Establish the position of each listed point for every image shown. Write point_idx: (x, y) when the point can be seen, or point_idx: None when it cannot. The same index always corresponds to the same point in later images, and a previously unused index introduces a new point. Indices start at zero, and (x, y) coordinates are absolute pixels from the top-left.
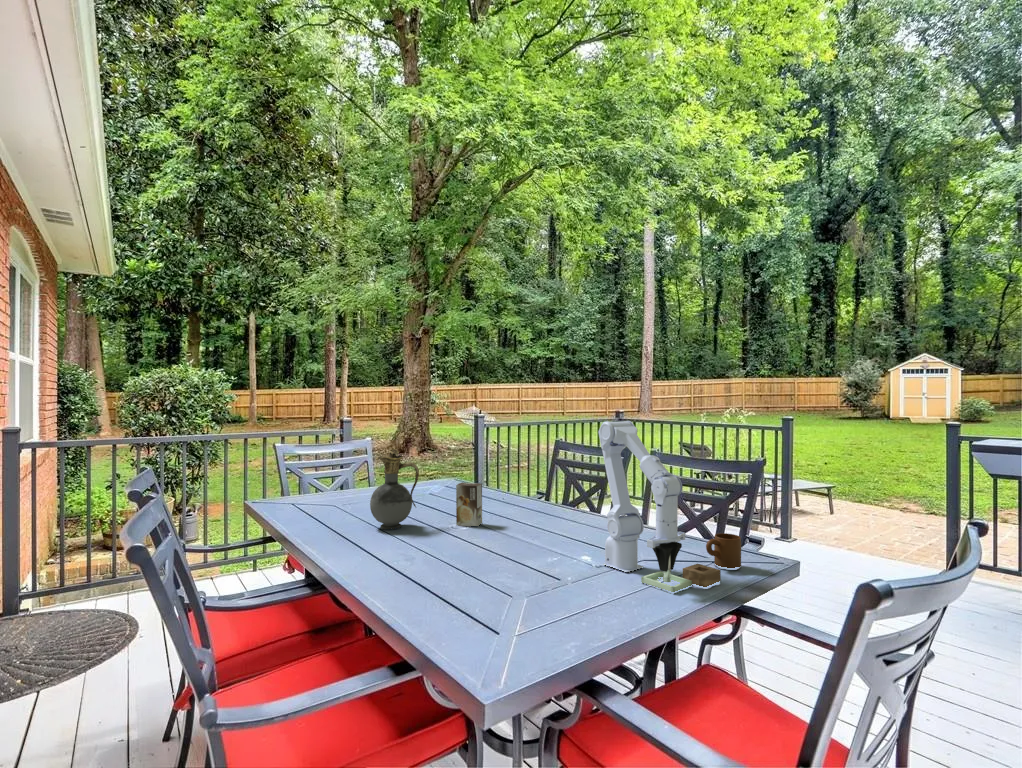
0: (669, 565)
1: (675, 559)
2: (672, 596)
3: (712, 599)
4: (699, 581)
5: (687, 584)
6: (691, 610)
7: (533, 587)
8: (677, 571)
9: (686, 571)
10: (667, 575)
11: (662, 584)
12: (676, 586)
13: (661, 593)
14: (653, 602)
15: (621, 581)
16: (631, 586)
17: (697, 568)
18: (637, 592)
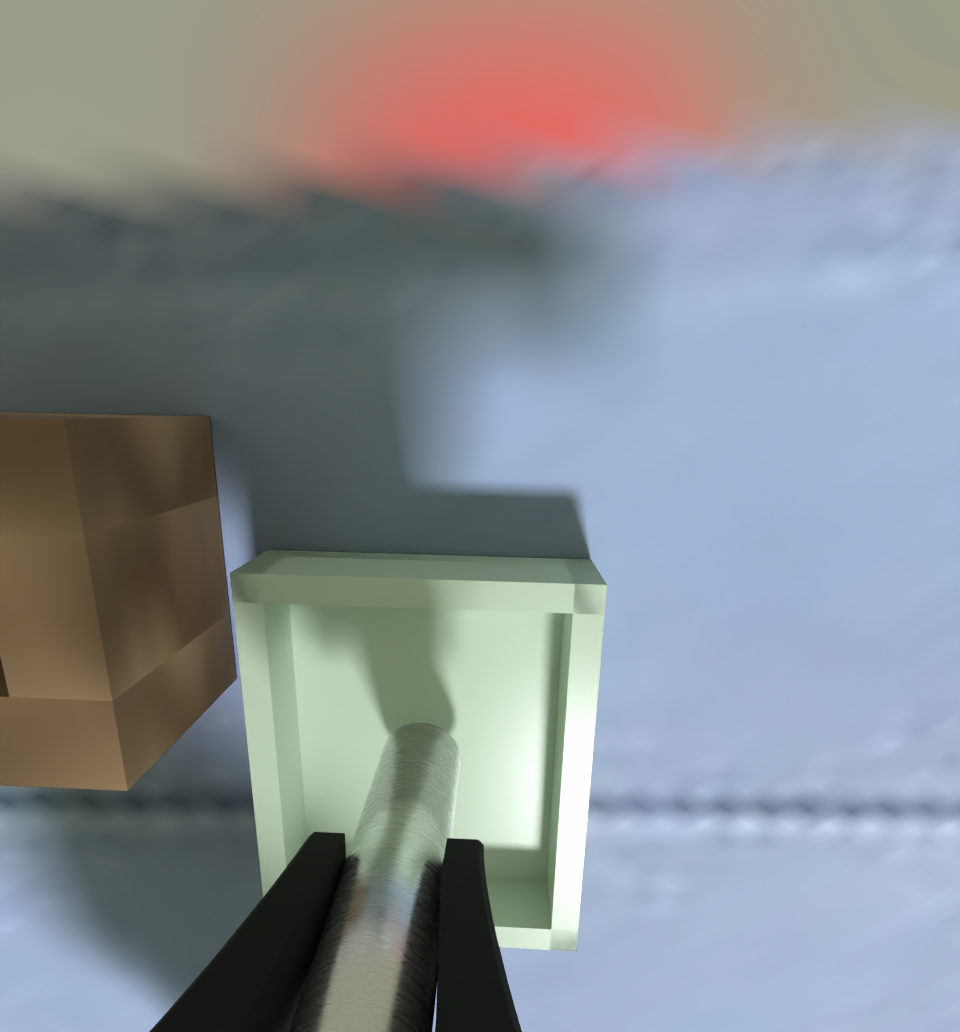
0: (387, 911)
1: (206, 983)
2: (644, 533)
3: (386, 197)
4: (169, 504)
5: (328, 568)
6: (883, 151)
7: None
8: (30, 862)
9: (139, 717)
10: (442, 792)
11: (594, 717)
12: (542, 582)
13: (651, 645)
14: (937, 558)
15: (650, 1000)
16: (695, 896)
17: None
18: (794, 790)
